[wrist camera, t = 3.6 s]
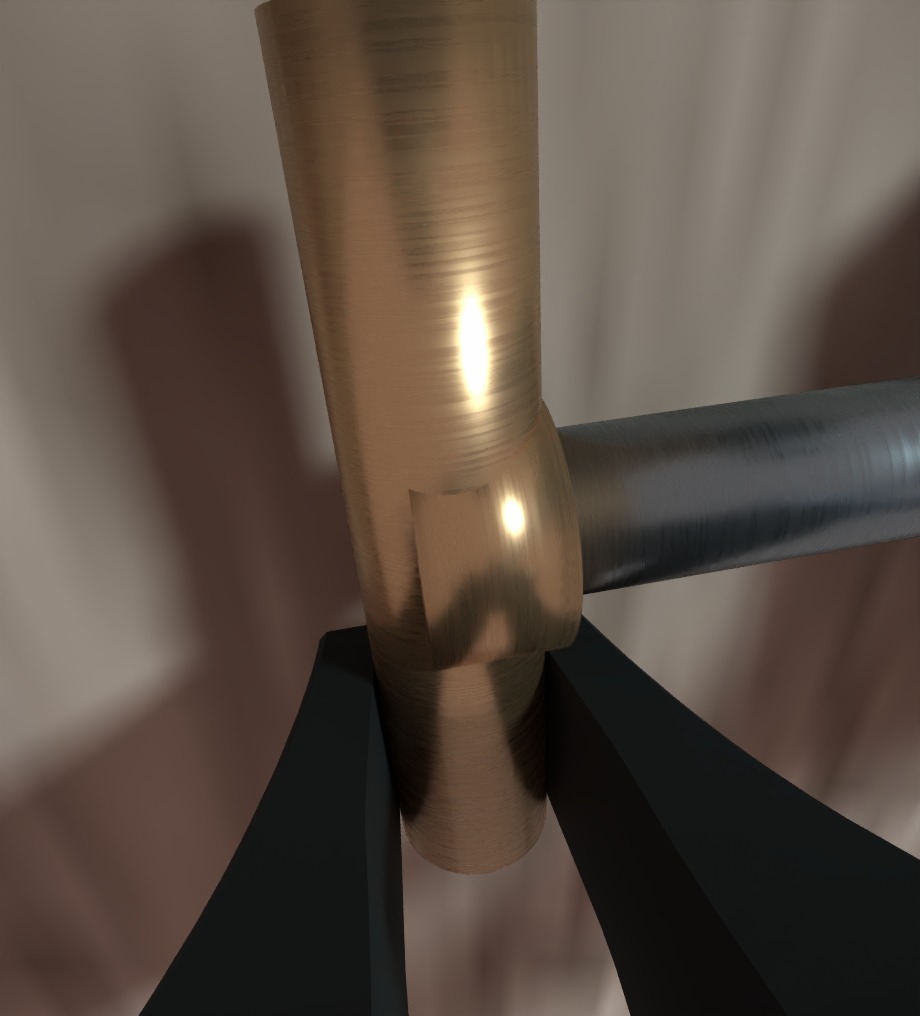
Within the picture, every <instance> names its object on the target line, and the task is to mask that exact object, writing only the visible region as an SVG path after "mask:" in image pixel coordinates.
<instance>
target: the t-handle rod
mask: <svg viewBox="0 0 920 1016" xmlns="http://www.w3.org/2000/svg"><path fill="white" fill-rule="evenodd" d="M254 11H255V17H256V23H257V28H258V34H259V39H260V44H261V50H262V55H263V61H264V66H265V72H266V77H267V83H268V88H269V94H270V99H271V105H272V110H273V116H274V121H275V127H276V132H277V137H278V143H279V148H280V154H281V159H282V165H283V170H284V176H285V181H286V187H287V192H288V198H289V203H290V209H291V214H292V219H293V225H294V230H295V236H296V241H297V247H298V252H299V258H300V263H301V269H302V274H303V280H304V285H305V291H306V296H307V302H308V307H309V312H310V318H311V323H312V329H313V334H314V340H315V345H316V351H317V356H318V362H319V367H320V373H321V378H322V384H323V389H324V395H325V400H326V405H327V411H328V416H329V422H330V427H331V433H332V438H333V444H334V449H335V455H336V460H337V466H338V471H339V477H340V482H341V488H342V493H343V498H344V504H345V509H346V515H347V520H348V526H349V531H350V537H351V542H352V548H353V553H354V559H355V564H356V570H357V575H358V581H359V586H360V591H361V597H362V602H363V608H364V613H365V619H366V624H367V630H368V635H369V641H370V646H371V652H372V657H373V663H374V668H375V673H376V679H377V684H378V690H379V695H380V701H381V706H382V712H383V717H384V723H385V728H386V734H387V739H388V745H389V750H390V756H391V761H392V766H393V772H394V777H395V783H396V788H397V794H398V799H399V805H400V810H401V816H402V821H403V826H404V829H405V832H406V835H407V837H408V839H409V841H410V843H411V844H412V845H413V847H414V848H415V849H416V851H417V852H418V853H419V854H420V855H421V856H422V857H424V858H425V859H426V860H428V861H429V862H430V863H432V864H434V865H436V866H438V867H440V868H442V869H445V870H447V871H451V872H455V873H461V874H482V873H489V872H493V871H496V870H499V869H502V868H504V867H506V866H509V865H510V864H512V863H514V862H515V861H517V860H519V859H520V858H521V857H522V856H524V855H525V854H526V853H527V852H528V851H529V850H530V849H531V848H532V846H533V845H534V844H535V842H536V841H537V840H538V838H539V836H540V834H541V832H542V829H543V827H544V824H545V819H546V812H547V785H546V706H545V651H550V650H555V649H561V648H566V647H569V646H571V645H572V644H573V642H574V641H575V639H576V636H577V634H578V631H579V626H580V622H581V614H582V602H583V595H584V594H590V593H595V592H601V591H607V590H612V589H618V588H624V587H630V586H635V585H641V584H647V583H653V582H658V581H664V580H670V579H676V578H681V577H687V576H693V575H699V574H704V573H710V572H716V571H722V570H727V569H733V568H739V567H745V566H750V565H756V564H762V563H768V562H773V561H779V560H785V559H791V558H796V557H802V556H808V555H814V554H819V553H825V552H831V551H837V550H842V549H848V548H854V547H859V546H865V545H871V544H877V543H882V542H888V541H894V540H900V539H905V538H911V537H917V536H920V375H919V376H912V377H906V378H899V379H892V380H885V381H878V382H871V383H864V384H857V385H850V386H843V387H836V388H829V389H822V390H815V391H808V392H801V393H794V394H787V395H780V396H773V397H766V398H759V399H752V400H745V401H739V402H732V403H725V404H718V405H711V406H704V407H697V408H690V409H683V410H676V411H669V412H662V413H655V414H648V415H641V416H634V417H627V418H620V419H613V420H606V421H599V422H592V423H585V424H578V425H571V426H565V427H558V428H555V425H554V422H553V420H552V417H551V415H550V413H549V410H548V408H547V407H546V405H545V403H544V401H543V399H542V389H541V310H540V230H539V151H538V72H537V0H271V1H268V2H265V3H263V4H261V5H259V6H257V7H256V8H255V9H254Z"/></svg>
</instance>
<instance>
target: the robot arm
mask: <svg viewBox="0 0 920 1016" xmlns="http://www.w3.org/2000/svg"><path fill="white" fill-rule="evenodd" d="M545 706H546V785H547V795H548V797H549V800H550V802H551V805H552V807H553V810H554V812H555V815H556V817H557V820H558V822H559V825H560V827H561V829H562V832H563V834H564V837H565V839H566V842H567V844H568V847H569V849H570V852H571V854H572V856H573V859H574V861H575V864H576V866H577V869H578V871H579V874H580V876H581V879H582V881H583V883H584V886H585V888H586V891H587V893H588V896H589V898H590V901H591V903H592V906H593V908H594V911H595V913H596V915H597V918H598V920H599V923H600V925H601V928H602V931H603V933H604V936H605V939H606V942H607V944H608V947H609V950H610V953H611V955H612V958H613V961H614V964H615V967H616V970H617V973H618V977H619V980H620V983H621V986H622V989H623V993H624V996H625V999H626V1002H627V1006H628V1009H629V1012H630V1015H631V1016H920V860H919V859H917V858H916V857H914V856H912V855H910V854H909V853H907V852H905V851H903V850H902V849H900V848H898V847H896V846H895V845H893V844H891V843H889V842H888V841H886V840H884V839H882V838H880V837H879V836H877V835H875V834H873V833H872V832H870V831H868V830H866V829H865V828H863V827H861V826H859V825H858V824H856V823H854V822H852V821H851V820H849V819H847V818H845V817H844V816H842V815H841V814H839V813H837V812H836V811H834V810H832V809H831V808H829V807H828V806H826V805H824V804H823V803H821V802H820V801H818V800H816V799H815V798H813V797H812V796H810V795H808V794H807V793H805V792H804V791H802V790H801V789H799V788H798V787H796V786H795V785H793V784H792V783H790V782H789V781H787V780H786V779H784V778H783V777H781V776H780V775H778V774H777V773H775V772H774V771H772V770H771V769H769V768H768V767H766V766H765V765H764V764H762V763H761V762H759V761H758V760H756V759H755V758H754V757H752V756H751V755H749V754H748V753H747V752H745V751H744V750H742V749H741V748H740V747H738V746H737V745H736V744H734V743H733V742H731V741H730V740H729V739H727V738H726V737H725V736H723V735H722V734H721V733H720V732H718V731H717V730H716V729H714V728H713V727H712V726H710V725H709V724H708V723H706V722H705V721H704V720H703V719H701V718H700V717H699V716H697V715H696V714H695V713H694V712H692V711H691V710H690V709H689V708H687V707H686V706H685V705H684V704H682V703H681V702H680V701H679V700H677V699H676V698H675V697H674V696H672V695H671V694H670V693H669V692H668V691H667V690H665V689H664V688H663V687H662V686H661V685H660V684H658V683H657V682H656V681H655V680H654V679H652V678H651V677H650V676H649V675H648V674H647V673H645V672H644V671H643V670H642V669H641V668H640V667H638V666H637V665H636V664H635V663H634V662H633V661H632V660H630V659H629V658H628V657H627V656H626V655H625V654H624V653H623V652H622V651H620V650H619V649H618V648H617V647H616V646H615V645H614V644H613V643H612V642H611V641H610V640H608V639H607V638H606V637H605V636H604V635H603V634H602V633H601V632H600V631H599V630H598V629H597V628H596V627H595V626H594V625H592V624H591V623H590V622H589V621H588V620H587V619H586V618H585V617H584V616H583V615H582V614H581V622H580V626H579V631H578V634H577V636H576V639H575V641H574V642H573V644H572V645H571V646H569V647H566V648H561V649H555V650H550V651H545ZM139 1016H409V1014H408V1000H407V986H406V972H405V943H404V914H403V884H402V855H401V827H400V805H399V799H398V794H397V788H396V783H395V777H394V772H393V766H392V761H391V756H390V750H389V745H388V739H387V734H386V728H385V723H384V717H383V712H382V706H381V701H380V695H379V690H378V684H377V679H376V673H375V668H374V663H373V657H372V652H371V646H370V641H369V635H368V630H367V625H364V626H358V627H352V628H347V629H341V630H335V631H329V632H326V633H325V635H324V636H323V637H322V638H321V639H320V641H319V646H318V651H317V655H316V659H315V662H314V666H313V670H312V673H311V676H310V679H309V683H308V686H307V689H306V692H305V694H304V697H303V700H302V703H301V706H300V709H299V711H298V714H297V717H296V719H295V722H294V724H293V727H292V729H291V732H290V734H289V737H288V739H287V742H286V744H285V747H284V749H283V752H282V754H281V757H280V759H279V762H278V764H277V766H276V769H275V771H274V773H273V775H272V777H271V780H270V782H269V784H268V786H267V788H266V790H265V792H264V794H263V797H262V799H261V801H260V803H259V805H258V807H257V809H256V811H255V814H254V816H253V818H252V820H251V822H250V824H249V826H248V828H247V830H246V832H245V834H244V836H243V838H242V840H241V842H240V844H239V846H238V848H237V850H236V852H235V854H234V856H233V858H232V860H231V862H230V863H229V865H228V867H227V869H226V871H225V873H224V875H223V876H222V878H221V880H220V882H219V884H218V885H217V887H216V889H215V891H214V893H213V894H212V896H211V898H210V900H209V901H208V903H207V905H206V907H205V908H204V910H203V912H202V914H201V916H200V917H199V919H198V921H197V922H196V924H195V926H194V928H193V929H192V931H191V932H190V934H189V936H188V937H187V939H186V941H185V942H184V944H183V945H182V947H181V949H180V950H179V952H178V954H177V955H176V957H175V958H174V960H173V962H172V963H171V965H170V967H169V968H168V970H167V971H166V973H165V975H164V976H163V978H162V980H161V981H160V983H159V984H158V986H157V988H156V989H155V991H154V993H153V994H152V996H151V997H150V999H149V1000H148V1002H147V1003H146V1005H145V1006H144V1008H143V1010H142V1011H141V1013H140V1014H139Z"/></svg>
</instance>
